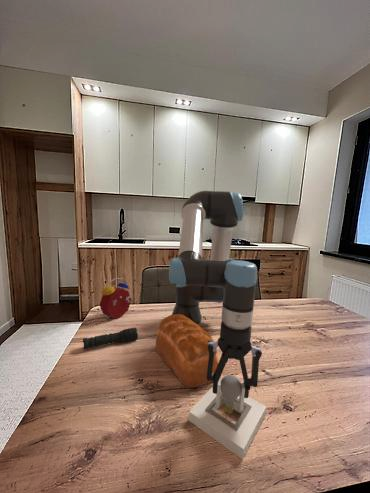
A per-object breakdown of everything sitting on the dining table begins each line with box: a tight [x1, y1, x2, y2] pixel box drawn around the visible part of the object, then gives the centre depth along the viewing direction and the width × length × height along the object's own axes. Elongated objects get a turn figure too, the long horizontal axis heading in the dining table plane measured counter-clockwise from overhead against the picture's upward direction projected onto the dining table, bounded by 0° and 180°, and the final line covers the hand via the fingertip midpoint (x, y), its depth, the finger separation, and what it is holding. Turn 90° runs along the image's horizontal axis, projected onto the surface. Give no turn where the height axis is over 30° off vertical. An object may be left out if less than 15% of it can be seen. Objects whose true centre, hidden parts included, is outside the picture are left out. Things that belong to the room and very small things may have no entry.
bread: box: [155, 314, 219, 389], centre depth 83 cm, size 14×26×16 cm, turn 31°
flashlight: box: [82, 327, 139, 351], centre depth 93 cm, size 5×21×5 cm, turn 118°
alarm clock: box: [99, 277, 132, 320], centre depth 115 cm, size 15×9×20 cm, turn 144°
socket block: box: [188, 385, 267, 460], centre depth 62 cm, size 15×15×3 cm
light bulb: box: [220, 374, 241, 414], centre depth 61 cm, size 6×6×10 cm
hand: (228, 405), depth 62 cm, fingers closed on light bulb, 5 cm apart
